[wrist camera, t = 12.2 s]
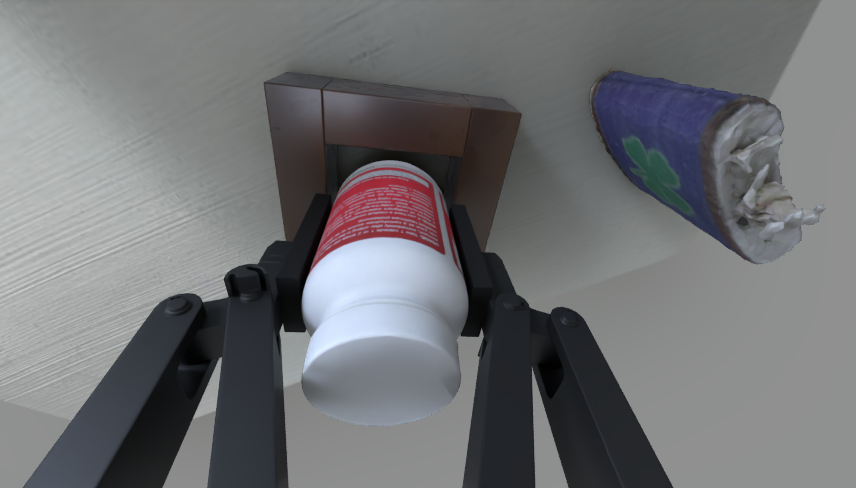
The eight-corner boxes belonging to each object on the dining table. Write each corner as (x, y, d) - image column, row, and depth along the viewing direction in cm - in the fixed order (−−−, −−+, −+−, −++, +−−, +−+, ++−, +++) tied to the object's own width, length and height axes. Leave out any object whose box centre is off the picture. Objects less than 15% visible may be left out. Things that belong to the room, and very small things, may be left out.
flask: (674, 172, 22) (855, 272, 13) (633, 199, 23) (776, 308, 14) (622, 56, 18) (836, 89, 9) (575, 94, 19) (726, 158, 10)
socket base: (503, 98, 19) (522, 113, 16) (464, 263, 25) (473, 294, 23) (285, 71, 17) (262, 81, 14) (304, 254, 24) (291, 286, 21)
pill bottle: (313, 201, 18) (222, 384, 9) (398, 132, 16) (395, 273, 7) (386, 268, 21) (375, 457, 12) (465, 216, 19) (523, 392, 10)
